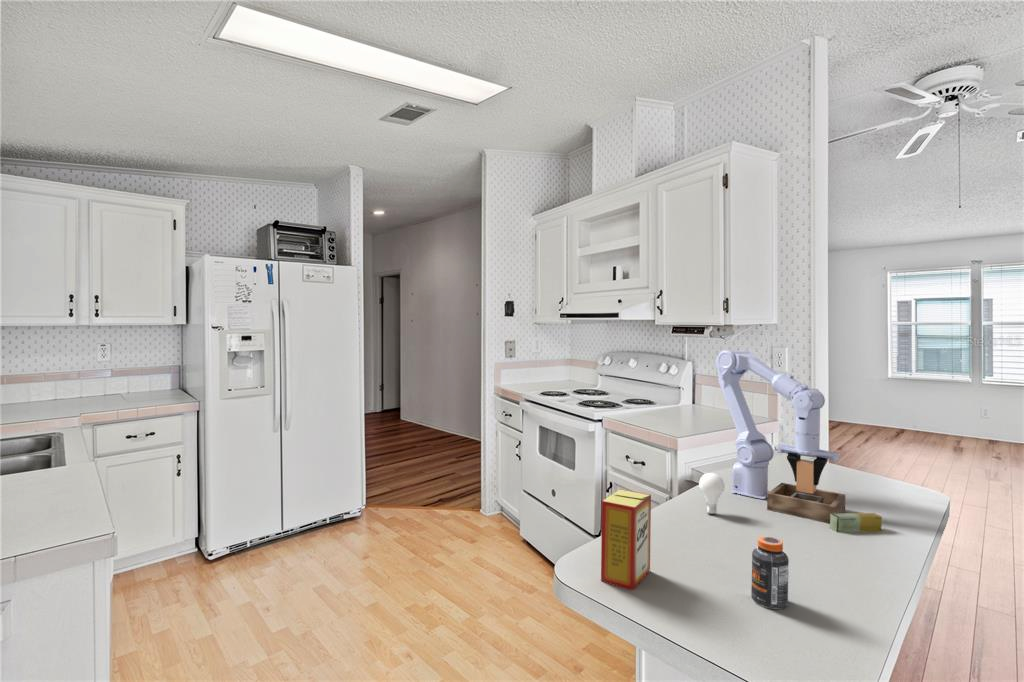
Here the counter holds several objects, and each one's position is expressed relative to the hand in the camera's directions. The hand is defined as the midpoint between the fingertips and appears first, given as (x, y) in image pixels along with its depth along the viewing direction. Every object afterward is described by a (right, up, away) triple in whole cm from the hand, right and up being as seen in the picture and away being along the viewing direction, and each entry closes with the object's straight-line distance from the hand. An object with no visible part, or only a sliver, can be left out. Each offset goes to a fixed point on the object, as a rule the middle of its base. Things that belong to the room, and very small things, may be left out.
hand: (806, 482), depth 142 cm
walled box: (0, -8, 0) cm, 8 cm away
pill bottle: (-34, -8, -48) cm, 60 cm away
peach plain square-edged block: (0, -2, 0) cm, 2 cm away
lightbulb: (-27, -8, -3) cm, 29 cm away
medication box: (+4, -8, -14) cm, 17 cm away
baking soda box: (-58, -8, -39) cm, 71 cm away
